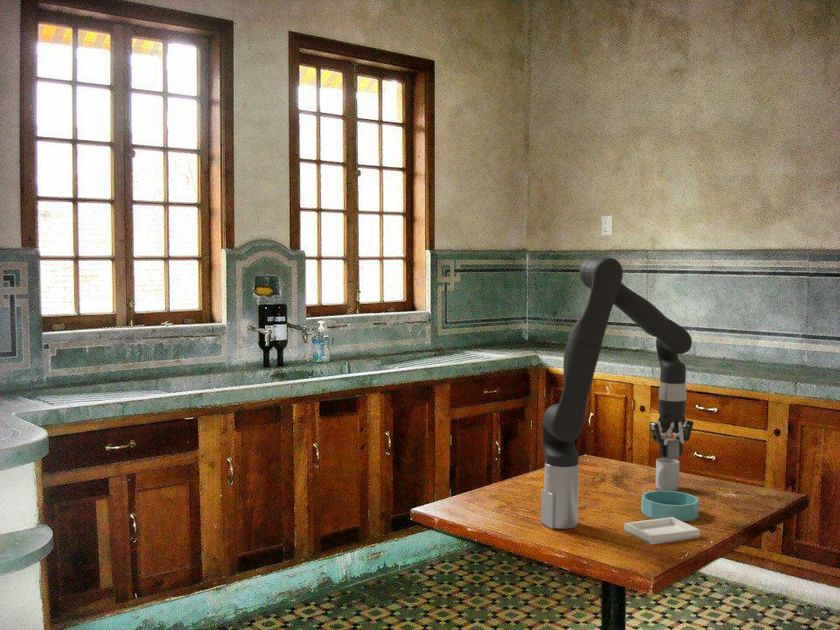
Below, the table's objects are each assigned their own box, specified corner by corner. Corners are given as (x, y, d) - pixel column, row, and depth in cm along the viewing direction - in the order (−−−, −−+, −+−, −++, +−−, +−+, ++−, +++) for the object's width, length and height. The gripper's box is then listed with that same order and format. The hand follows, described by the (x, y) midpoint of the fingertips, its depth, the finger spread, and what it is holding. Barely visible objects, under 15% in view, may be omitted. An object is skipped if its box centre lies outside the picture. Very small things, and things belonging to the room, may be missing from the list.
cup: (682, 487, 278) (683, 460, 277) (669, 494, 270) (670, 466, 269) (661, 483, 282) (661, 457, 282) (647, 490, 275) (648, 462, 274)
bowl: (664, 523, 240) (664, 508, 240) (631, 508, 255) (631, 493, 254) (709, 518, 246) (710, 502, 246) (674, 503, 260) (675, 488, 260)
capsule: (669, 459, 246) (669, 442, 246) (660, 456, 250) (660, 439, 250) (682, 458, 248) (682, 441, 247) (672, 455, 252) (672, 438, 252)
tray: (650, 544, 223) (650, 536, 223) (624, 531, 234) (624, 523, 234) (699, 537, 229) (699, 529, 229) (671, 524, 240) (672, 517, 239)
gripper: (659, 401, 242) (658, 461, 243) (701, 398, 247) (699, 457, 248) (643, 397, 249) (642, 455, 250) (684, 394, 254) (682, 451, 255)
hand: (671, 456), depth 249 cm, fingers closed on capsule, 4 cm apart
